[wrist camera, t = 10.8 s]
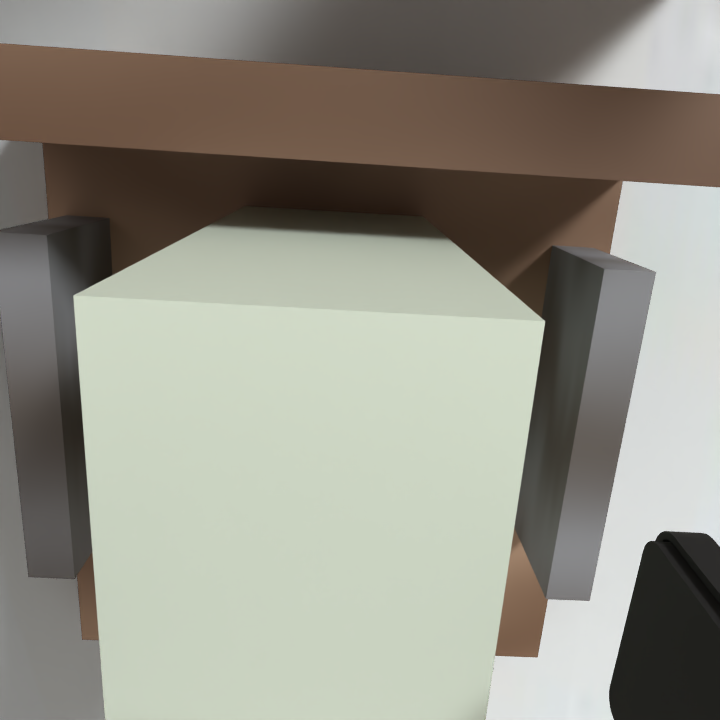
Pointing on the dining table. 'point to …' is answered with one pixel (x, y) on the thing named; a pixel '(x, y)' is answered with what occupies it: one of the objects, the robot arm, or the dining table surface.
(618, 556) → the dining table surface
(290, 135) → the shelf
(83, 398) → the pale green box
